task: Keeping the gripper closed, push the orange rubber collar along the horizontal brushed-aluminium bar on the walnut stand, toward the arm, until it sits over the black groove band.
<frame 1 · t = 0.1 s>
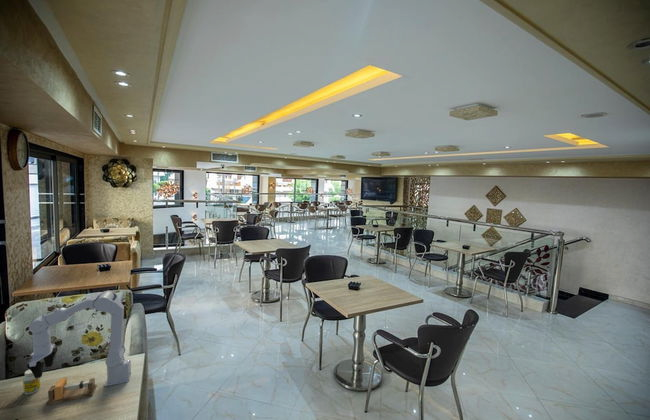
hand: (43, 371, 135), 10 cm above the table, fingers open, 7 cm apart
supplement bottle: (32, 390, 137), on the table
collar: (60, 388, 134), point 4 cm above the table, slide at 4.0 cm
rod: (72, 386, 135), point 4 cm above the table
stand: (72, 395, 136), on the table
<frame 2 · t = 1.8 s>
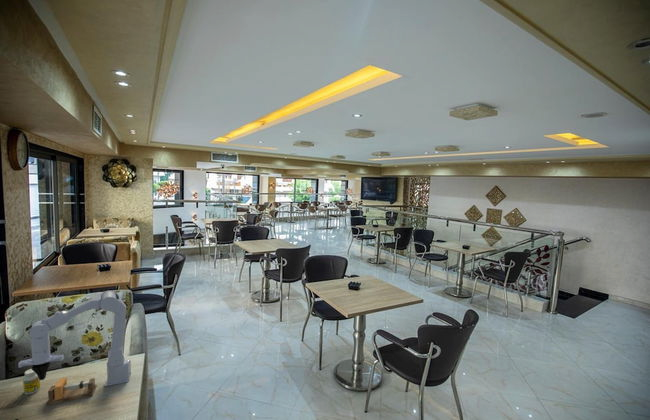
hand: (42, 378, 131), 10 cm above the table, fingers closed
nothing on the table moved.
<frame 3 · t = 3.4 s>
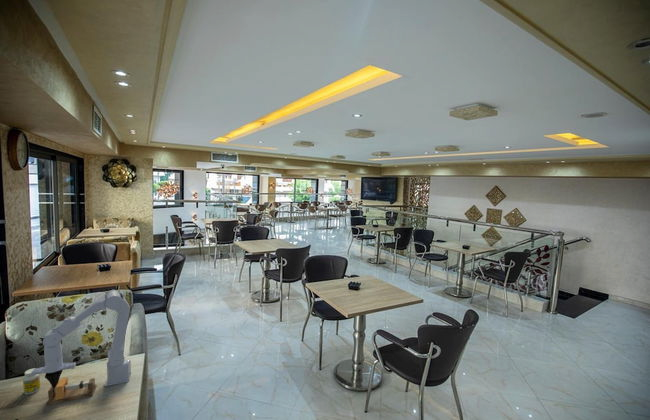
hand: (55, 386, 133), 6 cm above the table, fingers closed
collar: (61, 388, 134), point 4 cm above the table, slide at 3.7 cm, touching gripper
everything else where it was.
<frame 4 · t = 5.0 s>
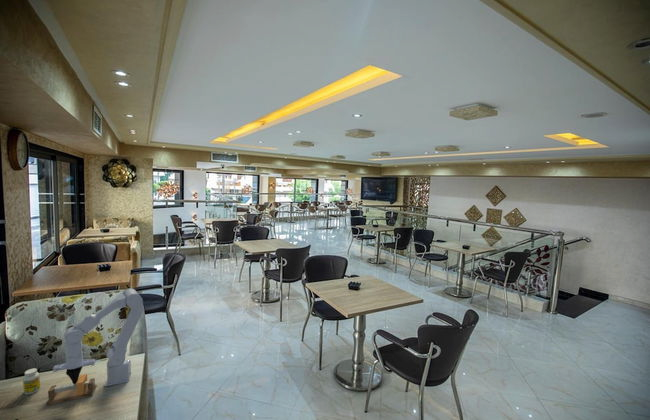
hand: (75, 382, 136), 6 cm above the table, fingers closed
collar: (81, 384, 137), point 4 cm above the table, slide at -3.5 cm, touching gripper
everything else where it was.
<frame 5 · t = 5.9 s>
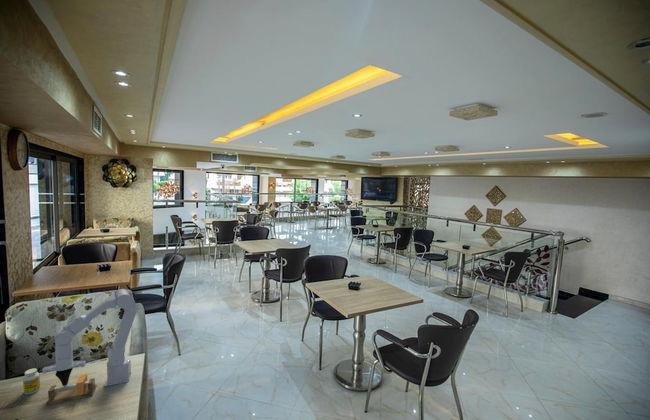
hand: (65, 384, 134), 6 cm above the table, fingers closed
collar: (82, 384, 137), point 4 cm above the table, slide at -3.5 cm
everything else where it was.
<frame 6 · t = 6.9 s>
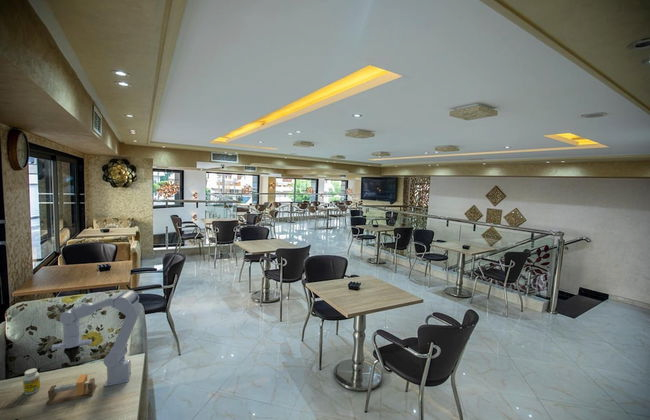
hand: (72, 361, 143), 10 cm above the table, fingers closed
nothing on the table moved.
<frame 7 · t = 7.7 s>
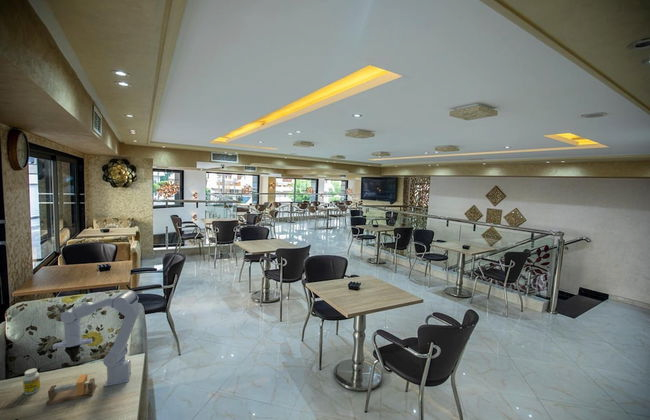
hand: (73, 360, 144), 10 cm above the table, fingers closed
nothing on the table moved.
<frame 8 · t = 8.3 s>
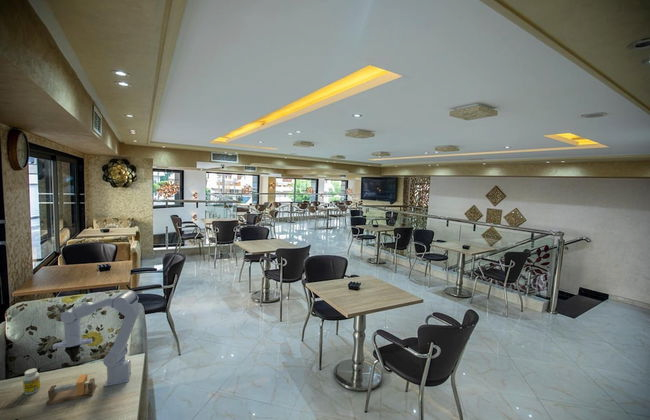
hand: (73, 360, 144), 10 cm above the table, fingers closed
nothing on the table moved.
at the end: collar slide at -3.5 cm; collar 0.0 cm from the target spot, resting on stand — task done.
